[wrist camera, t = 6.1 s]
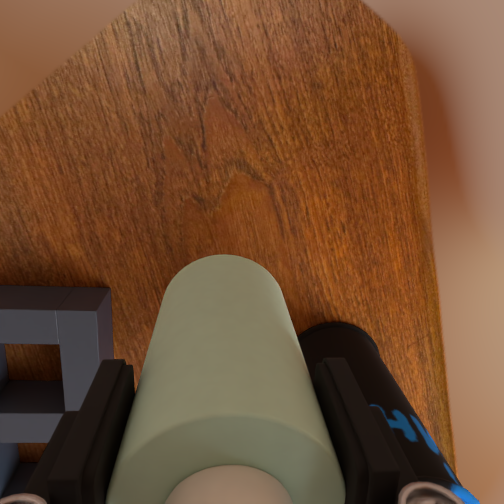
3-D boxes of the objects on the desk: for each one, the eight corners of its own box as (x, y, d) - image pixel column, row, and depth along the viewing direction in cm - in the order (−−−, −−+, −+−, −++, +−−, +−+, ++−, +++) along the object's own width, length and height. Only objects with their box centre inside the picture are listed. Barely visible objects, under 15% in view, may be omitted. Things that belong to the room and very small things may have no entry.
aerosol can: (317, 423, 38) (413, 734, 19) (261, 360, 36) (307, 644, 17) (397, 370, 37) (581, 647, 18) (344, 302, 35) (493, 537, 16)
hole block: (-8, 486, 38) (-33, 528, 34) (-41, 283, 32) (-76, 307, 28) (119, 485, 39) (108, 526, 35) (110, 287, 33) (96, 311, 29)
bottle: (163, 365, 18) (84, 734, 7) (159, 253, 16) (54, 516, 6) (281, 364, 18) (364, 714, 8) (288, 254, 17) (403, 504, 6)
